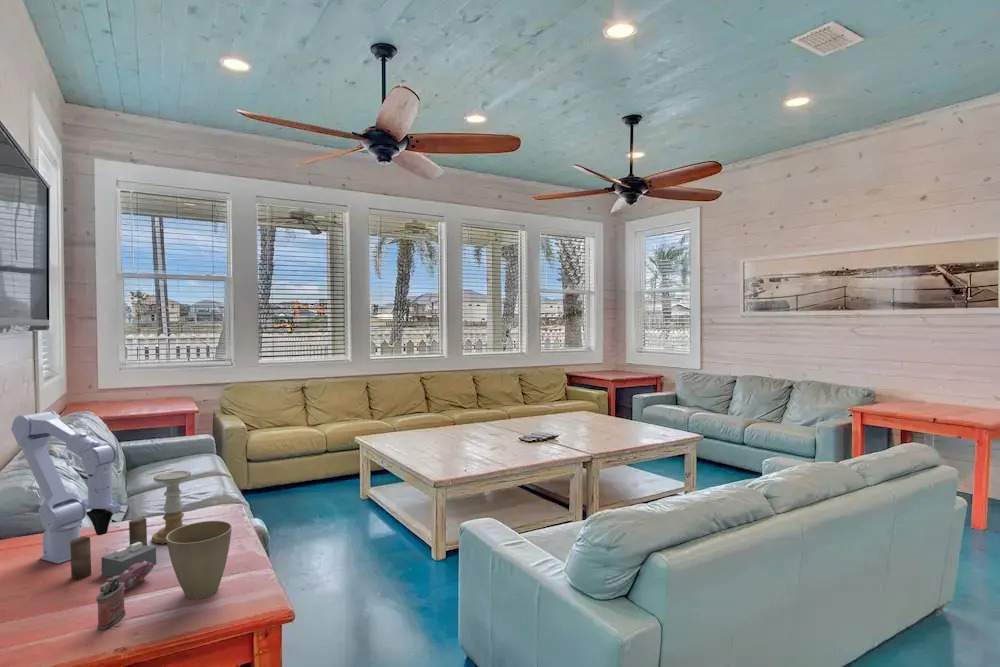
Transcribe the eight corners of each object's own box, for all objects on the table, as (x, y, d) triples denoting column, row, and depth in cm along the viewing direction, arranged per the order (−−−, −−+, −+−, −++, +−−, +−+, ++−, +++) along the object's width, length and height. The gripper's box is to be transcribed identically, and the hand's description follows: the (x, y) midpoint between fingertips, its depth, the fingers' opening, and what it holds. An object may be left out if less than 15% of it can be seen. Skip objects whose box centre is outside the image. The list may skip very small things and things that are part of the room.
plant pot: (172, 585, 150) (170, 525, 149) (234, 575, 156) (232, 517, 155) (163, 612, 136) (161, 546, 136) (232, 599, 142) (230, 536, 141)
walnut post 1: (67, 578, 155) (66, 541, 155) (84, 571, 159) (83, 535, 159) (77, 580, 153) (76, 544, 153) (94, 574, 157) (93, 538, 157)
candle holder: (182, 544, 177) (180, 480, 176) (142, 544, 177) (141, 480, 177) (203, 529, 189) (201, 469, 189) (166, 529, 190) (164, 469, 189)
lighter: (114, 613, 136) (113, 571, 136) (129, 612, 136) (128, 571, 136) (93, 631, 128) (91, 588, 128) (109, 631, 128) (107, 587, 128)
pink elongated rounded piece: (119, 600, 145) (129, 577, 145) (105, 591, 146) (115, 568, 145) (150, 582, 155) (159, 561, 154) (137, 574, 156) (146, 552, 155)
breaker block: (102, 575, 157) (101, 551, 157) (136, 560, 166) (135, 538, 166) (122, 579, 154) (121, 555, 154) (156, 564, 163) (155, 541, 163)
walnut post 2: (126, 555, 169) (125, 522, 169) (140, 549, 174) (140, 517, 173) (136, 557, 168) (135, 524, 167) (150, 551, 172) (149, 519, 171)
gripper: (69, 488, 163) (71, 535, 164) (101, 494, 158) (103, 542, 158) (95, 481, 170) (96, 526, 170) (127, 487, 164) (128, 533, 165)
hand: (101, 534), depth 165 cm, fingers closed
